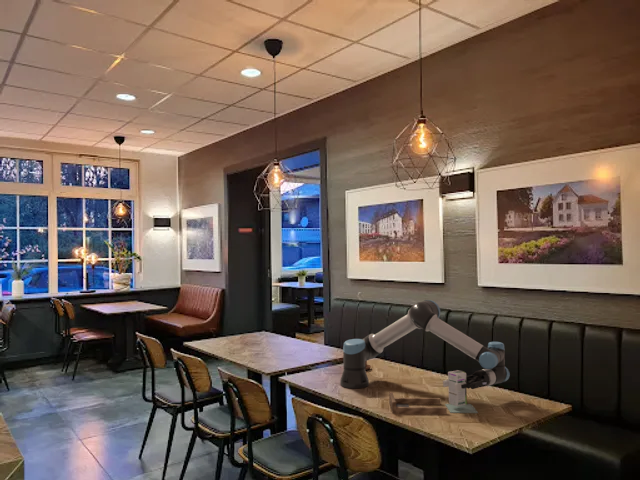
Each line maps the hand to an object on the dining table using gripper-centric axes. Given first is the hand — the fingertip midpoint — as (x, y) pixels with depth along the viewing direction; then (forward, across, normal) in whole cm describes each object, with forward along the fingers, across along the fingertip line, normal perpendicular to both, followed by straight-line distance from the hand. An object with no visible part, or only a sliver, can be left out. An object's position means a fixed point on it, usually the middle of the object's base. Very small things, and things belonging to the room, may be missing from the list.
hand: (449, 385), depth 220 cm
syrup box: (-5, 0, -9) cm, 11 cm away
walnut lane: (+9, +11, -11) cm, 18 cm away
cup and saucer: (-16, +84, -12) cm, 87 cm away
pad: (-7, -1, -11) cm, 13 cm away
